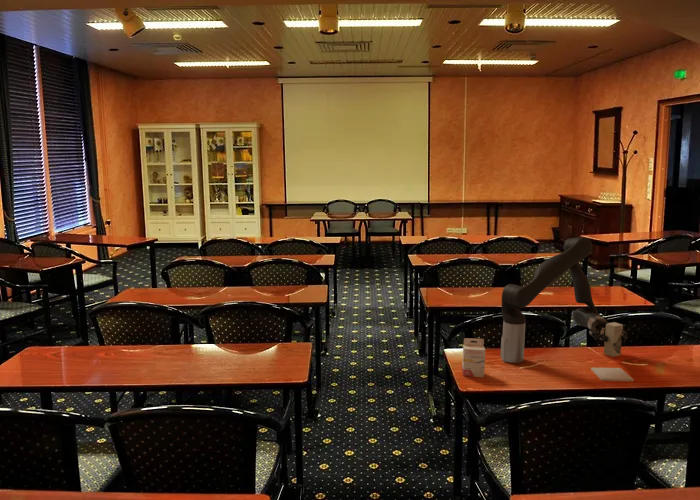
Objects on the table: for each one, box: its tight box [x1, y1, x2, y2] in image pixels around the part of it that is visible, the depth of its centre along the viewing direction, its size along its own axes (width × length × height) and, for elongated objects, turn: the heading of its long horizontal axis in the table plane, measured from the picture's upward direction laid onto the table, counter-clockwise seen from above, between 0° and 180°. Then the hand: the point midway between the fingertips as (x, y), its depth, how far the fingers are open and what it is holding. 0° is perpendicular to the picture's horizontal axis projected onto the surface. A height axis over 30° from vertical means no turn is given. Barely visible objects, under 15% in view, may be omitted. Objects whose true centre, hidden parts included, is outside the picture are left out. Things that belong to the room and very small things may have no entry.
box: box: [603, 321, 624, 358], centre depth 224 cm, size 5×4×13 cm
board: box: [590, 367, 634, 382], centre depth 226 cm, size 12×12×1 cm
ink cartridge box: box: [461, 337, 486, 378], centre depth 226 cm, size 9×5×15 cm, turn 84°
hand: (615, 339), depth 222 cm, fingers closed on box, 6 cm apart
